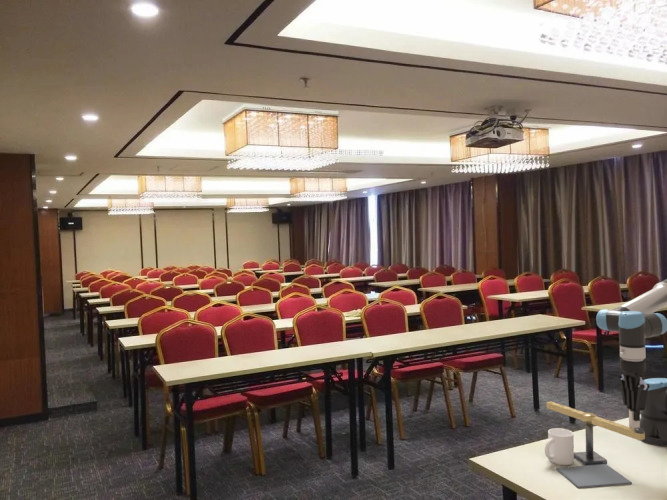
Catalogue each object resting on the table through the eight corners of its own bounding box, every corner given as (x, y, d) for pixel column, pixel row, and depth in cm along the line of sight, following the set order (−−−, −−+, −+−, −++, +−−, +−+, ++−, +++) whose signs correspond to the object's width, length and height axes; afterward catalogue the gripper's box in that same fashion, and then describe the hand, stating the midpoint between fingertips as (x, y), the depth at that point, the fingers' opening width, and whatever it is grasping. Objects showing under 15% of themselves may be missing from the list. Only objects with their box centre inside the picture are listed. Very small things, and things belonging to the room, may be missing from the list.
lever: (647, 439, 177) (647, 429, 177) (638, 442, 175) (638, 431, 175) (553, 406, 211) (553, 398, 211) (544, 408, 209) (544, 400, 209)
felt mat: (606, 465, 190) (606, 464, 190) (631, 484, 176) (631, 482, 176) (556, 469, 188) (556, 467, 188) (578, 488, 174) (578, 486, 174)
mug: (555, 470, 188) (554, 440, 187) (536, 461, 195) (535, 432, 195) (579, 462, 193) (578, 433, 193) (559, 454, 201) (559, 426, 200)
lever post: (594, 455, 199) (593, 418, 199) (607, 464, 191) (606, 425, 191) (573, 456, 198) (572, 419, 198) (585, 466, 190) (584, 427, 190)
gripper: (609, 355, 188) (611, 423, 189) (634, 364, 175) (636, 437, 176) (630, 353, 188) (632, 421, 189) (656, 362, 176) (658, 435, 176)
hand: (634, 429), depth 183 cm, fingers closed
